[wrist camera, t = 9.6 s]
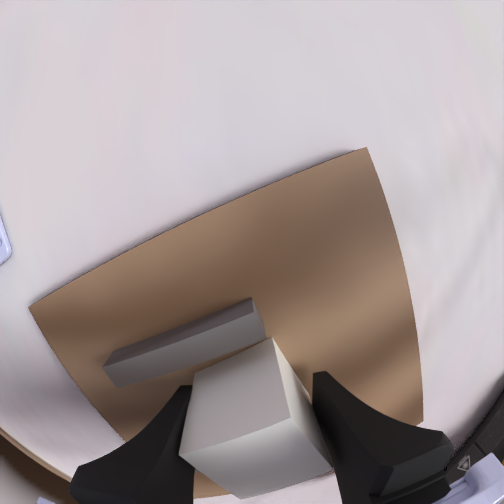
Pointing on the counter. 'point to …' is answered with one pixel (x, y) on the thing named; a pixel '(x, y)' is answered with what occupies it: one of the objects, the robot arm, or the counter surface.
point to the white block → (253, 424)
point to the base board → (249, 301)
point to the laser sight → (480, 444)
